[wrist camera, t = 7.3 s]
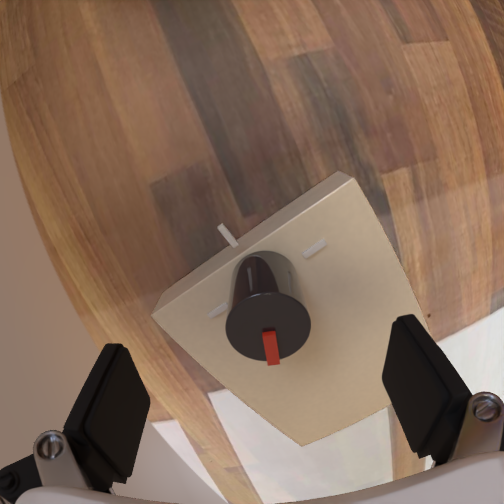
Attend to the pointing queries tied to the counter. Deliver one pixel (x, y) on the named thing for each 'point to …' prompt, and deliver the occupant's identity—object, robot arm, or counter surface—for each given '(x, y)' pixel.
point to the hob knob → (266, 308)
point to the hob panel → (319, 306)
